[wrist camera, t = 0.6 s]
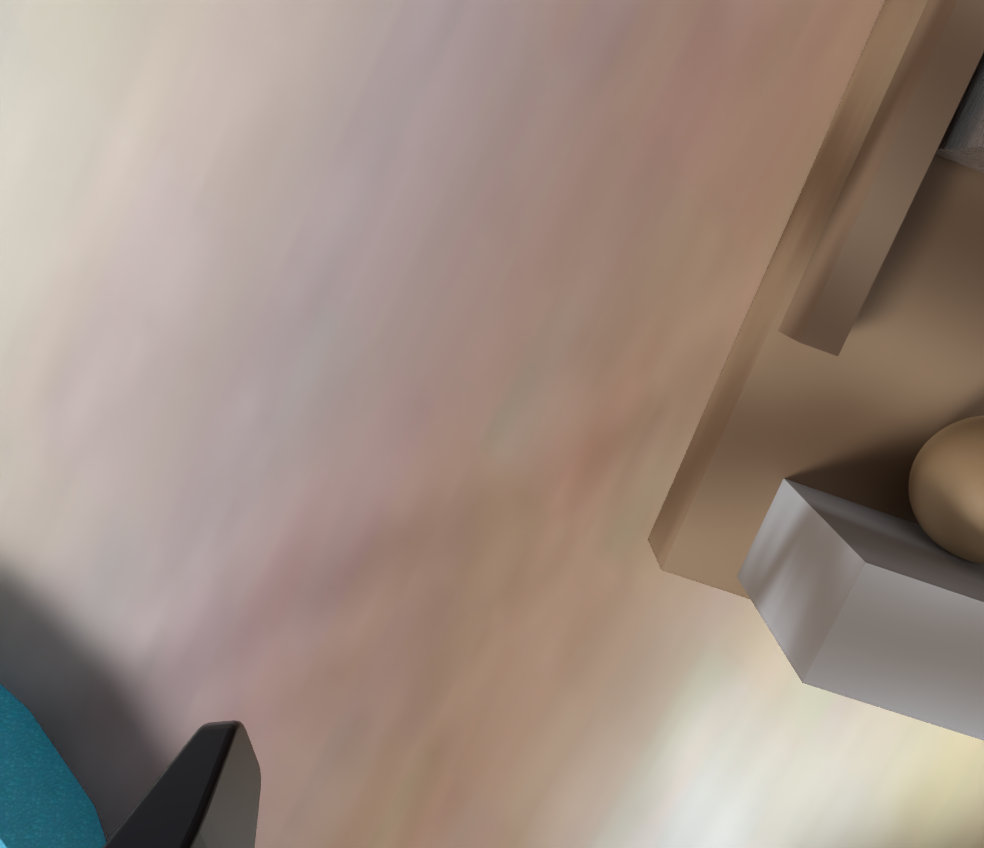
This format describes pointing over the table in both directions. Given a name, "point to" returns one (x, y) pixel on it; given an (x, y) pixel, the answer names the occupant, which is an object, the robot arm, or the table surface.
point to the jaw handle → (967, 126)
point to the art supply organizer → (39, 788)
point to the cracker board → (862, 400)
